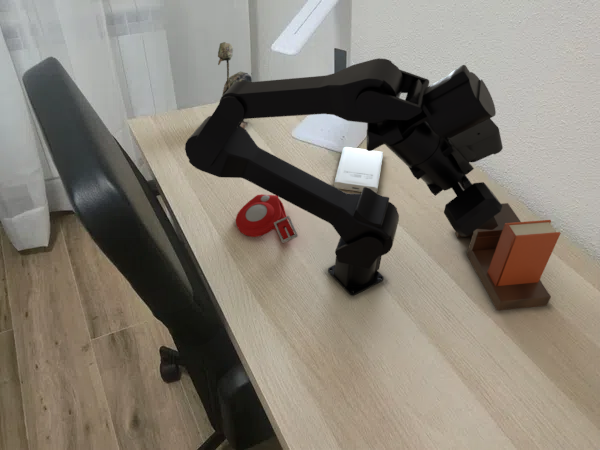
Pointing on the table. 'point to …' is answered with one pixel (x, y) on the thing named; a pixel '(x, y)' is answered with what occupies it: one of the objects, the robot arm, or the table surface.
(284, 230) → the tracker holder
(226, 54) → the plant with pod
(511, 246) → the book
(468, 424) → the table surface
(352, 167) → the hard drive
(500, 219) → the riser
